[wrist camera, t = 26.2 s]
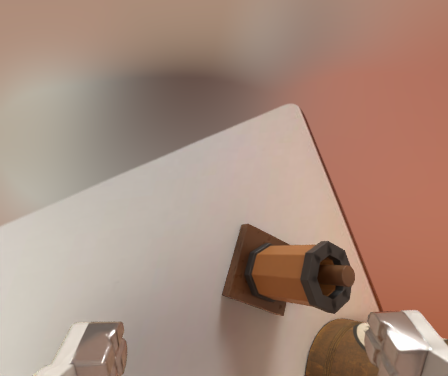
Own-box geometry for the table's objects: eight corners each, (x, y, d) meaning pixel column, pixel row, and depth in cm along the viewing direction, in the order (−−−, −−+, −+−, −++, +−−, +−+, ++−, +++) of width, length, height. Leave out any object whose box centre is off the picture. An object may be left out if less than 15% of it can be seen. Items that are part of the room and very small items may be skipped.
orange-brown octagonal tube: (253, 237, 41) (316, 234, 33) (290, 255, 44) (355, 256, 36) (239, 290, 39) (303, 300, 31) (279, 305, 42) (347, 318, 33)
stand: (241, 224, 42) (326, 214, 31) (289, 248, 46) (380, 247, 35) (221, 294, 39) (308, 311, 28) (275, 314, 43) (370, 335, 32)
